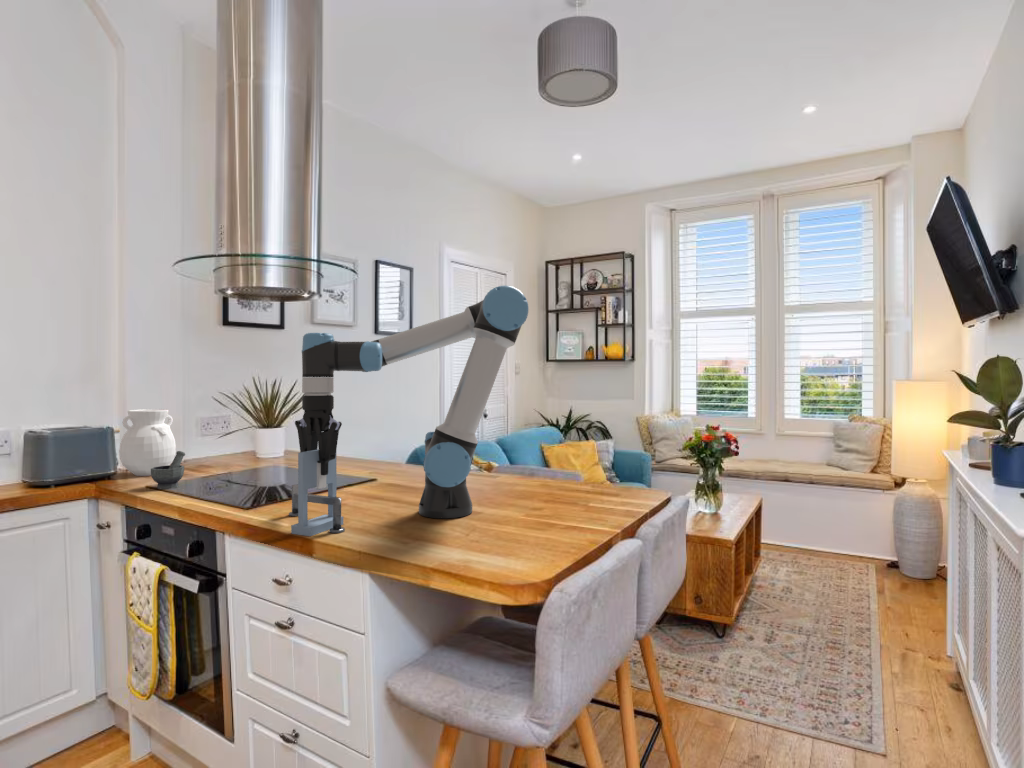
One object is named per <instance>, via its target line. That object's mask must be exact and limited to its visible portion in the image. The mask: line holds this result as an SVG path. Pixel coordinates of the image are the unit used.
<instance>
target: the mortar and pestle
mask: <svg viewBox="0 0 1024 768" xmlns="http://www.w3.org/2000/svg"><path fill="white" fill-rule="evenodd" d="M185 456H186V453H185V452H184V451H181V450H177V451H176V453H175V456H174V459H173V461H172V462H171V464H170V465H168V466H159V467H153V468H151V476H150V477H151V478H152V479H153V481H154V482H155V483H156V484H157V485H156V489H158V490H169V489H170V490H171V489H176V488H178V487H179V481H180V480H181V479H182V478H183V476H184V473H185V466H184V465H181V464H182V461H183V460H184V459H183V458H184V457H185Z"/></svg>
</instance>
